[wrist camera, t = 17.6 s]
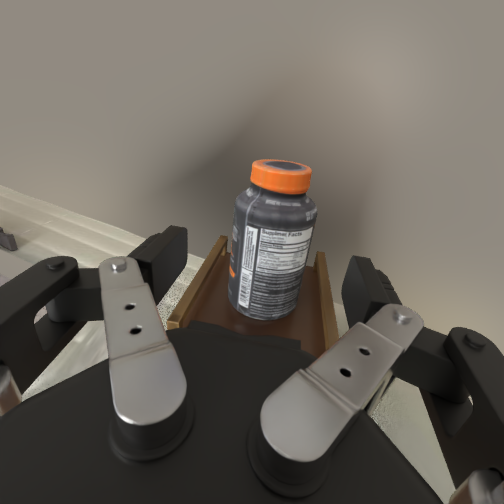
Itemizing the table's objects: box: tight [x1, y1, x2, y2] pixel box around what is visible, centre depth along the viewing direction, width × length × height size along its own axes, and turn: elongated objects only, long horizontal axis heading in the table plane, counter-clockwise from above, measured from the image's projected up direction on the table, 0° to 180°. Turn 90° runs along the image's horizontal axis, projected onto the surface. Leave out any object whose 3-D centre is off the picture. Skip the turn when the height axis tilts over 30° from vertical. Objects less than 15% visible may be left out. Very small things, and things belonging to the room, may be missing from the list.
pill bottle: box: [228, 159, 317, 320], centre depth 21 cm, size 6×6×11 cm
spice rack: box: [167, 235, 339, 358], centre depth 25 cm, size 11×14×9 cm
